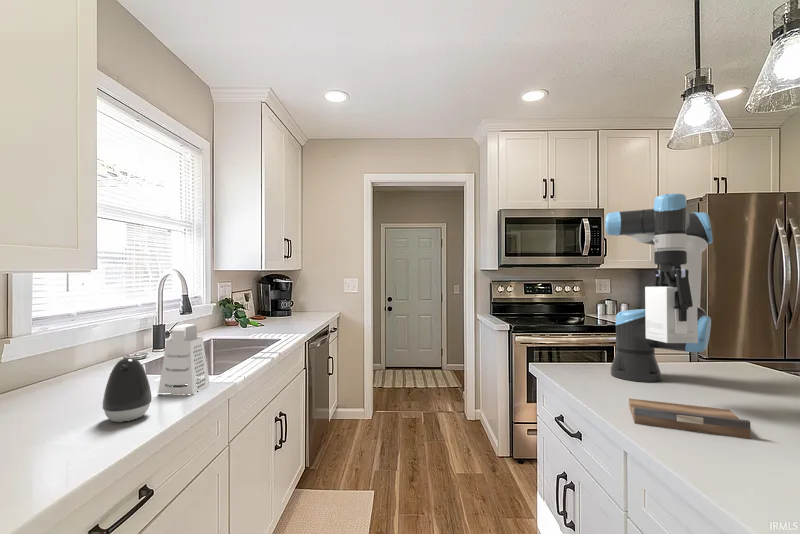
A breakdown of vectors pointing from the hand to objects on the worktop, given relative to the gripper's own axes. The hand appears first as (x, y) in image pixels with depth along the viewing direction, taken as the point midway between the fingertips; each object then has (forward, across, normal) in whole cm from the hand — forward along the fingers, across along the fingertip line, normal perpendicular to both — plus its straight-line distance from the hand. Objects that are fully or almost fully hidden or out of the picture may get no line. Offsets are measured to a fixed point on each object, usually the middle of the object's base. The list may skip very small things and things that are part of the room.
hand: (670, 331), depth 112 cm
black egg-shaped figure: (+22, +33, -139) cm, 145 cm away
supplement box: (+3, 0, 0) cm, 3 cm away
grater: (+21, +8, -142) cm, 144 cm away
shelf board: (+20, +13, -3) cm, 24 cm away
